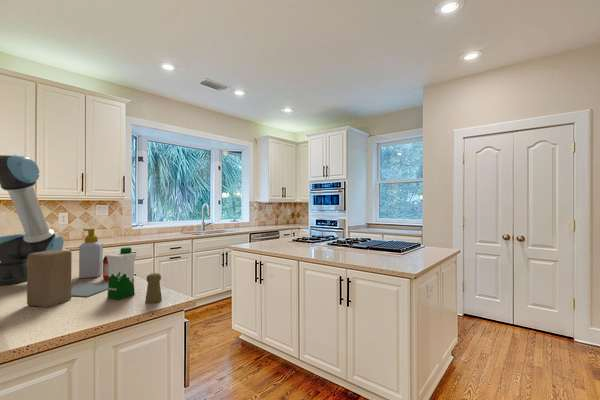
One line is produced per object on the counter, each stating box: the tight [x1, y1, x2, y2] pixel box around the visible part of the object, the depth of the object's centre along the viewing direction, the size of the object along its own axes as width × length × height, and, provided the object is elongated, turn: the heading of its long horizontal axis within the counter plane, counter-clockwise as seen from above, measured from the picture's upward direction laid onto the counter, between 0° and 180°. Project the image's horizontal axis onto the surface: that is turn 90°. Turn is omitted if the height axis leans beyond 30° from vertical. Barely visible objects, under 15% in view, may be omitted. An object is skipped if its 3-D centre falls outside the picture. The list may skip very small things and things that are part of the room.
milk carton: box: [106, 247, 137, 301], centre depth 123 cm, size 9×9×20 cm
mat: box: [71, 281, 108, 298], centre depth 132 cm, size 18×18×1 cm
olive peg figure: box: [144, 272, 163, 305], centre depth 117 cm, size 6×6×11 cm
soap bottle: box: [78, 228, 104, 279], centre depth 155 cm, size 9×9×25 cm
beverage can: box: [102, 254, 108, 281], centre depth 150 cm, size 6×6×12 cm
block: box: [26, 249, 73, 308], centre depth 115 cm, size 10×10×20 cm
